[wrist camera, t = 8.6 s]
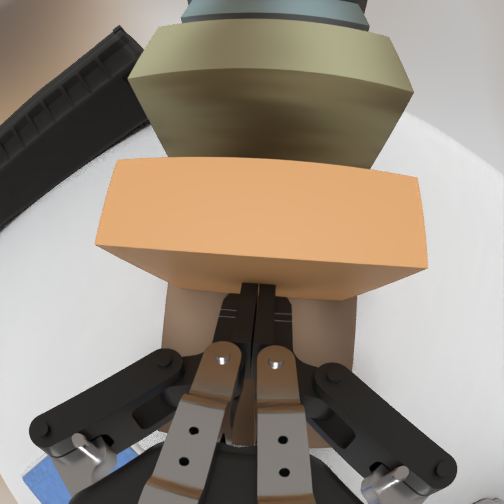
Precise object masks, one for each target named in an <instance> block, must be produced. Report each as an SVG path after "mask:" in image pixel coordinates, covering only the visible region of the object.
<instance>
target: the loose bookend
mask: <svg viewBox="0 0 504 504" xmlns="http://www.w3.org/2000/svg"><path fill="white" fill-rule="evenodd" d="M95 245H96V246H98V247H100V248H102V249H104V250H106V251H108V252H109V253H111V254H113V255H115V256H117V257H119V258H121V259H123V260H125V261H127V262H129V263H131V264H132V265H134V266H136V267H138V268H140V269H142V270H144V271H146V272H148V273H150V274H152V275H154V276H156V277H158V278H161V279H163V280H165V281H167V282H169V283H171V284H173V285H175V286H177V287H179V288H181V289H189V290H199V291H210V292H220V293H237V294H240V290H241V285H242V283H254V284H258V295H259V286H260V284H270V285H276V294H275V296H281V297H287V298H300V299H318V300H339V301H343V300H346V299H348V298H351V297H354V296H357V295H360V294H363V293H365V292H368V291H371V290H374V289H376V288H379V287H382V286H384V285H387V284H390V283H392V282H395V281H397V280H400V279H403V278H405V277H408V276H410V275H413V274H415V273H417V272H420V271H422V270H425V269H427V268H428V259H427V245H426V234H425V225H424V217H423V209H422V202H421V196H420V190H419V184H418V178H417V177H412V176H406V175H401V174H395V173H389V172H383V171H377V170H370V169H364V168H356V167H349V166H341V165H332V164H323V163H314V162H303V161H291V160H277V159H260V158H236V157H162V158H139V159H123V160H117V162H116V165H115V169H114V172H113V175H112V178H111V181H110V185H109V188H108V192H107V195H106V199H105V203H104V207H103V210H102V214H101V218H100V223H99V227H98V231H97V236H96V240H95Z"/></svg>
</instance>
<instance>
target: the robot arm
mask: <svg viewBox="0 0 504 504" xmlns="http://www.w3.org/2000/svg"><path fill="white" fill-rule="evenodd" d="M275 294H276V285H270V284H260V286H259V295H258V284H254V283H242V285H241V290H240V294H237V293H229V294H228V295H227V296H226V297H225V298H224V299H223V302H222V306H221V310H220V314H219V317H218V321H217V325H216V329H215V333H214V337H213V341H212V344H211V345H209V346H208V347H207V348H206V349H205V351H204V352H202V353H200V354H197V355H192V356H184V357H181V355H180V354H179V353H178V352H177V351H175V350H173V349H169V348H162V349H158V350H156V351H154V352H152V353H150V354H149V355H147V356H145V357H143V358H142V359H140V360H138V361H137V362H135V363H133V364H132V365H130V366H128V367H126V368H125V369H123V370H121V371H119V372H118V373H116V374H114V375H112V376H111V377H109V378H107V379H105V380H104V381H102V382H100V383H98V384H96V385H95V386H93V387H91V388H89V389H87V390H86V391H84V392H82V393H80V394H78V395H77V396H75V397H73V398H71V399H69V400H67V401H66V402H64V403H62V404H60V405H58V406H56V407H54V408H52V409H51V410H49V411H47V412H45V413H43V414H41V415H39V416H37V417H36V418H35V419H34V420H33V421H32V422H31V424H30V428H29V435H30V438H31V440H32V442H33V443H34V444H35V445H36V446H38V447H39V448H40V449H42V450H43V451H44V452H45V453H46V454H47V455H49V456H50V458H51V459H52V462H53V464H54V466H55V468H56V469H57V471H58V473H59V475H60V477H61V479H62V481H63V483H64V484H65V486H66V488H67V490H68V491H69V493H70V495H71V496H72V498H71V499H70V501H69V503H68V504H364V503H363V502H362V501H361V500H360V499H359V498H358V497H357V496H356V495H355V494H354V493H353V492H352V491H351V490H350V489H349V488H348V487H347V486H346V485H345V484H344V483H343V482H342V481H341V480H340V479H339V478H338V477H337V476H336V475H335V474H334V473H333V472H332V471H331V469H330V468H329V467H328V466H327V465H326V464H325V463H323V462H322V461H321V460H319V459H318V458H316V457H314V456H312V455H310V454H309V446H308V436H307V426H306V421H307V422H308V423H309V425H310V426H311V427H312V428H313V429H314V430H315V431H316V432H317V433H318V434H319V435H320V436H321V437H322V438H323V439H324V440H325V441H326V442H327V443H328V444H329V445H330V446H331V447H332V448H333V449H334V450H335V451H336V452H337V453H338V454H339V455H340V456H341V457H342V458H343V459H344V460H345V461H346V462H347V463H348V464H349V465H350V466H351V467H352V468H354V469H355V470H356V471H357V472H358V473H359V474H360V475H361V476H362V477H363V478H364V480H363V481H362V484H361V492H362V495H363V496H364V498H365V499H366V500H367V502H368V504H422V503H423V502H424V501H425V500H426V498H427V497H428V496H429V495H431V494H433V493H435V492H437V491H439V490H441V489H443V488H445V487H447V486H449V485H450V484H451V483H452V482H453V481H454V479H455V477H456V474H457V464H456V461H455V460H454V458H453V457H452V456H451V455H449V454H448V453H447V452H446V451H444V450H443V449H442V448H441V447H439V446H438V445H437V444H436V443H435V442H433V441H432V440H431V439H430V438H429V437H427V436H426V435H425V434H424V433H423V432H421V431H420V430H419V429H418V428H417V427H415V426H414V425H413V424H412V423H411V422H409V421H408V420H407V419H406V418H405V417H403V416H402V415H401V414H400V413H399V412H398V411H396V410H395V409H394V408H393V407H392V406H390V405H389V404H388V403H387V402H386V401H385V400H383V399H382V398H381V397H380V396H379V395H378V394H376V393H375V392H374V391H373V390H372V389H371V388H370V387H368V386H367V385H366V384H365V383H364V382H363V381H362V380H360V379H359V378H358V377H357V376H356V375H355V374H353V373H352V372H351V371H350V370H349V369H348V368H347V367H345V366H344V365H342V364H339V363H334V362H330V363H325V364H323V365H321V366H320V367H315V366H312V365H309V364H306V363H304V362H302V361H301V360H299V359H298V358H297V357H296V355H295V353H294V351H293V331H292V304H291V303H290V301H289V300H288V298H287V297H281V296H275ZM257 301H258V304H257ZM252 355H253V358H252ZM251 364H252V379H253V380H256V383H255V412H254V446H249V447H242V448H238V447H234V446H231V443H232V435H233V430H234V425H235V421H236V417H237V412H238V408H239V404H240V400H241V395H242V391H243V386H244V379H250V372H251ZM172 419H173V421H172V423H171V426H170V429H169V431H168V434H167V437H166V439H165V441H163V442H161V443H158V444H156V445H154V446H152V447H150V448H149V449H147V450H146V451H144V452H143V453H141V454H140V455H138V456H137V457H135V458H134V459H132V460H131V461H129V462H128V463H126V464H125V465H123V466H122V467H120V468H118V469H117V470H115V471H114V472H112V473H110V472H111V471H112V470H113V469H114V468H115V466H116V464H117V456H116V455H117V454H119V453H120V452H122V451H124V450H125V449H127V448H129V447H130V446H132V445H134V444H135V443H137V442H139V441H140V440H142V439H143V438H145V437H147V436H148V435H150V434H151V433H153V432H154V431H156V430H157V429H159V428H160V427H162V426H163V425H165V424H166V423H168V422H169V421H171V420H172ZM108 473H110V474H109V475H108ZM475 504H504V501H502V500H500V499H498V498H496V499H495V500H490V499H484V500H481V501H479V502H477V503H475Z"/></svg>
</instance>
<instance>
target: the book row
mask: <svg viewBox="0 0 504 504" xmlns="http://www.w3.org/2000/svg"><path fill="white" fill-rule="evenodd" d="M366 4H367V0H188V5H189V6H188V7H187V9H186V11H185V12H184V13H183V15H182V16H181V20H182V23H181V24H174V25H168V26H162V27H159V28H158V29H157V31H156V32H155V34H154V35H153V37H152V38H151V40H150V41H149V43H148V44H147V46H146V48H145V49H144V51H143V53H142V54H141V56H140V58H139V59H138V61H137V63H136V64H135V66H134V68H133V70H132V71H131V73H130V75H129V77H128V81H129V83H130V85H131V87H132V89H133V91H134V93H135V94H136V96H137V98H138V100H139V102H140V104H141V106H142V108H143V110H144V112H145V114H146V116H147V118H148V120H149V121H150V123H151V125H152V127H153V129H154V131H155V133H156V135H157V137H158V139H159V140H160V142H161V144H162V146H163V148H164V150H165V152H166V154H167V155H168V157H236V158H260V159H277V160H291V161H303V162H314V163H323V164H332V165H341V166H349V167H356V168H364V169H370V168H371V166H372V165H373V163H374V161H375V160H376V158H377V156H378V155H379V153H380V151H381V150H382V148H383V146H384V145H385V143H386V141H387V140H388V138H389V136H390V134H391V133H392V131H393V129H394V127H395V126H396V124H397V122H398V120H399V119H400V117H401V115H402V113H403V112H404V110H405V108H406V106H407V104H408V102H409V101H410V99H411V97H412V95H413V93H414V91H413V89H412V86H411V84H410V81H409V79H408V77H407V74H406V72H405V70H404V67H403V65H402V63H401V61H400V59H399V56H398V54H397V52H396V50H395V48H394V46H393V44H392V42H391V40H390V38H389V37H386V36H383V35H379V34H375V33H371V32H368V30H369V24H368V22H367V20H366V18H365V16H364V13H365V8H366ZM228 294H229V293H220V292H210V291H199V290H189V289H181V288H179V287H177V286H175V285H173V284H171V283H169V282H168V289H167V297H166V306H165V315H164V325H163V336H162V348H169V349H173V350H175V351H177V352H178V353H179V354H180V355H181V357H184V356H192V355H197V354H200V353H202V352H204V351H205V349H206V348H207V347H208V346H209V345H211V344H212V341H213V337H214V333H215V329H216V325H217V321H218V317H219V314H220V310H221V306H222V302H223V299H224V298H225V297H226V296H227V295H228ZM288 300H289V301H290V303H291V304H292V331H293V351H294V353H295V355H296V357H297V358H298V359H299V360H301V361H302V362H304V363H306V364H309V365H312V366H315V367H320V366H321V365H323V364H325V363H330V362H334V363H339V364H342V365H344V366H345V367H347V368H348V369H349V370H350V371H351V372H352V365H353V354H354V342H355V327H356V306H357V296H354V297H351V298H348V299H346V300H343V301H339V300H318V299H300V298H288ZM257 304H258V301H257ZM162 348H161V349H162ZM252 358H253V355H252ZM255 383H256V380H253V379H252V364H251V372H250V379H244V386H243V391H242V395H241V400H240V404H239V408H238V412H237V417H236V421H235V425H234V430H233V435H232V443H231V444H236V445H246V446H254V412H255ZM172 421H173V419H172V420H171V421H169V422H168V423H166V424H165V425H163V426H162V427H160V428H159V429H158V431H161V432H165V433H168V431H169V429H170V426H171V423H172ZM306 426H307V436H308V446H309V448H329V447H331V446H330V445H329V444H328V443H327V442H326V441H325V440H324V439H323V438H322V437H321V436H320V435H319V434H318V433H317V432H316V431H315V430H314V429H313V428H312V427H311V426H310V425H309V423H308V422H307V421H306Z"/></svg>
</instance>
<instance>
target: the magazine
mask: <svg viewBox="0 0 504 504" xmlns="http://www.w3.org/2000/svg"><path fill="white" fill-rule="evenodd" d="M143 51H144V49H143V48H142V47H141V46H140V45H139V44H138V43H137V42H136V41H135V40H134V39H133V38H132V37H131V36H130V35H128V34H127V33H126V32H125V31H124V29H123V28H122V27H121V26H120V25H119V26H117V27H116V28H115V29H114V30H113V32H112V33H111V34H110V35H108V36H107V37H106V38H105V39H103V40H102V41H101V42H99V43H98V44H97V45H96V46H95V47H94V48H92V49H91V50H90V51H89V52H87V53H86V54H85V55H83V56H82V57H81V58H80V59H78V60H77V61H76V62H75V63H73V64H72V65H71V66H70V67H68V68H67V69H66V70H65V71H63V72H62V73H61V74H60V75H58V76H57V77H56V78H54V79H53V80H52V81H50V82H49V83H48V84H46V85H45V86H44V87H43V88H41V89H40V90H39V91H38V92H37V93H36V94H34V95H33V96H32V97H31V98H30V99H29V100H28V101H26V103H24V104H23V105H22V106H21V107H20V108H19V109H18V110H17V111H15V112H14V113H13V114H12V115H11V116H10V117H9V118H8V119H7V120H6V121H5V122H4V123H3V124H1V125H0V226H1V225H3V224H4V223H5V222H7V221H8V220H10V219H11V218H12V217H14V216H15V215H17V214H18V213H20V212H21V211H23V210H24V209H25V208H27V207H28V206H29V205H31V204H32V203H34V202H35V201H36V200H38V199H39V198H40V197H42V196H43V195H44V194H46V193H47V192H48V191H50V190H51V189H52V188H54V187H55V186H56V185H58V184H59V183H60V182H62V181H63V180H64V179H66V178H67V177H68V176H70V175H71V174H72V173H74V172H75V171H77V170H78V169H79V168H81V167H82V166H84V165H85V164H86V163H88V162H89V161H90V160H92V159H93V158H95V157H96V156H97V155H99V154H100V153H101V152H103V151H104V150H106V149H107V148H108V147H110V146H111V145H113V144H114V143H115V142H117V141H118V140H119V139H121V138H122V137H124V136H125V135H126V134H128V133H129V132H131V131H132V130H134V129H135V128H137V127H138V126H139V125H141V124H142V123H144V122H145V121H147V120H148V118H147V116H146V114H145V112H144V110H143V108H142V106H141V104H140V102H139V100H138V98H137V96H136V94H135V93H134V91H133V89H132V87H131V85H130V83H129V81H128V77H129V75H130V73H131V71H132V70H133V68H134V66H135V64H136V63H137V61H138V59H139V58H140V56H141V54H142V53H143Z"/></svg>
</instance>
